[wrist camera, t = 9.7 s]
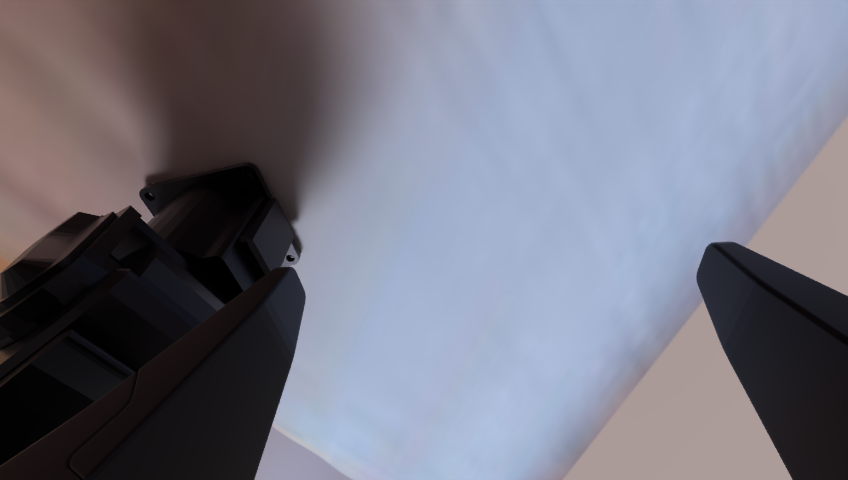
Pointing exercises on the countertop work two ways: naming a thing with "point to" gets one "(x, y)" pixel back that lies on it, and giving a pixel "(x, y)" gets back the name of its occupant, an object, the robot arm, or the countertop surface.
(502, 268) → the countertop surface
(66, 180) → the countertop surface
